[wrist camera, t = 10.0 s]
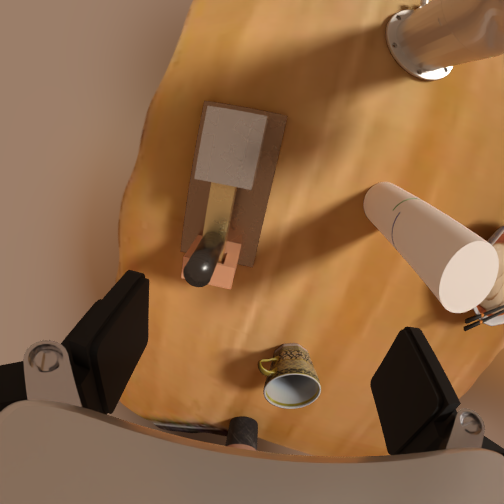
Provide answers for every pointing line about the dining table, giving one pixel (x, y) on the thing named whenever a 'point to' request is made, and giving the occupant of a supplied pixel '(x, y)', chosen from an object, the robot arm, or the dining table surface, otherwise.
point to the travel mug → (242, 433)
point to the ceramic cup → (290, 378)
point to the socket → (219, 264)
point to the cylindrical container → (434, 246)
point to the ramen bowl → (492, 290)
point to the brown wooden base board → (234, 171)
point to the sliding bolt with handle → (212, 236)
